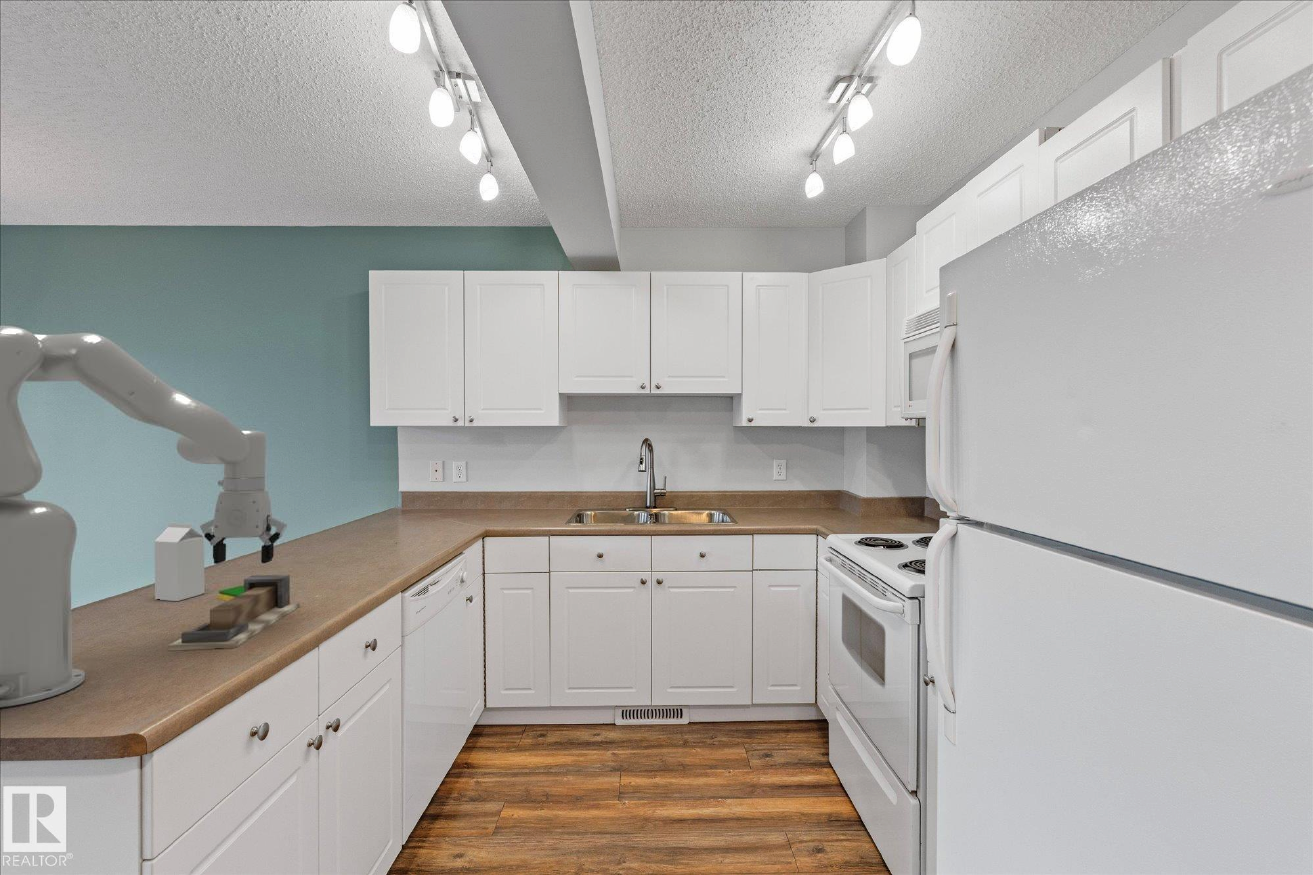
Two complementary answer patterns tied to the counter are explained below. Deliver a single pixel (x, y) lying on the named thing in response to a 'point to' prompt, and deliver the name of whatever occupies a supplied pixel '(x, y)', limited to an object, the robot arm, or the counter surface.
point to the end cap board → (245, 630)
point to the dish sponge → (231, 592)
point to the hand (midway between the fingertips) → (243, 562)
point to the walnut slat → (243, 608)
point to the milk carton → (179, 563)
